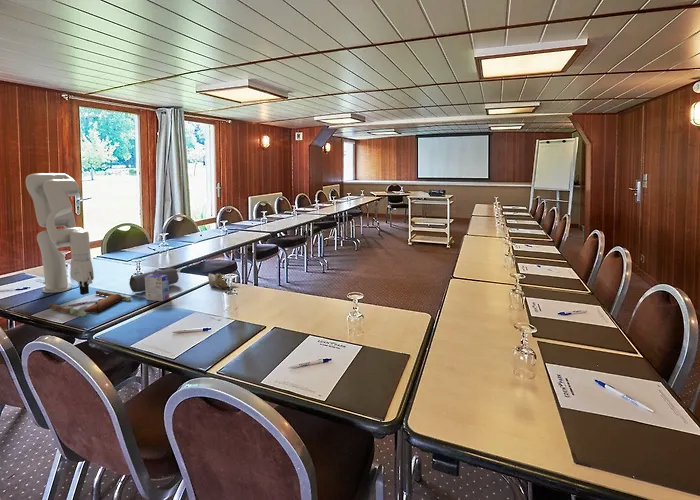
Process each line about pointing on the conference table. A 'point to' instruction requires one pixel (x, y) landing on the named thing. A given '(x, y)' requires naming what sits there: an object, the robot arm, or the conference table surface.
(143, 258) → the conference table surface
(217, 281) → the ceramic sculpture
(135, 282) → the bluetooth speaker
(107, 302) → the brown bottle
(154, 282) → the ink cartridge box
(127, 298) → the beige rail frame
